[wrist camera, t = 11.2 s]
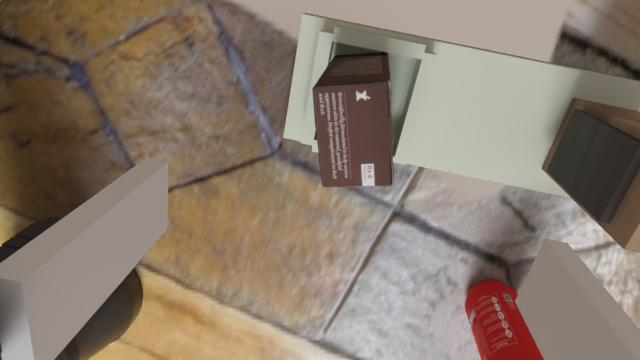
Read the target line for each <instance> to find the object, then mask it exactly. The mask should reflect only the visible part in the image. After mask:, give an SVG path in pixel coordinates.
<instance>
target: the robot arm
mask: <svg viewBox="0 0 640 360" xmlns="http://www.w3.org/2000/svg"><path fill="white" fill-rule="evenodd" d="M168 169H169V162H167V161H162V160H157V159H152V158H146V159H144V160H143V161H142V162H140V163H139V164H137V165H136V166H135V167H133V168H132V169H130V170H129V171H128V172H126V173H125V174H124V175H122V176H121V177H119V178H118V179H117V180H115V181H114V182H112V183H111V184H110V185H108V186H107V187H105V188H104V189H103V190H101V191H100V192H99V193H97V194H96V195H94V196H93V197H92V198H90V199H89V200H87V201H86V202H85V203H83V204H82V205H80V206H79V207H78V208H76V209H75V210H73V211H72V212H71V213H69V214H68V215H67V216H65V217H64V218H62V219H61V218H56V217H50V218H48V219H45V220H42V221H39V222H37V223H34V224H31V225H30V226H28V227H27V228H25V229H24V230H22V231H21V232H20V233H18V234H17V235H16V236H15V238H14V237H12V238H11V239H9V240H8V241H6V242H5V243H3V244H2V246H1V247H0V360H88V359H89V358H91V357H92V356H94V355H95V354H97V353H98V352H99V351H101V350H102V349H103V348H105V347H106V346H107V345H109V344H110V343H112V342H114V341H115V340H117V339H118V338H120V337H121V336H122V335H123V334H124V333H125V332H126V331H127V329H128V328H129V327H130V325H131V324H132V323H133V321H134V320H135V318H136V317H137V315H138V314H139V311H140V309H141V305H142V290H141V285H140V282H139V279H138V277H137V275H136V273H135V271H134V269H133V268H134V267H135V266H136V265H137V264H138V262H139V261H140V260H141V259H142V258H143V257H144V255H145V254H146V253H147V252H148V251H149V250H150V249H151V247H152V246H153V245H154V244H155V243H156V242H157V240H158V239H159V238H160V237H161V236H162V235H163V234H164V232H165V231H166V230H167V212H168ZM515 303H516V305H517V307H518V309H519V311H520V313H521V315H522V317H523V319H524V321H525V323H526V325H527V327H528V329H529V331H530V333H531V335H532V337H533V339H534V341H535V343H536V345H537V347H538V349H539V351H540V353H541V355H542V357H543V359H544V360H640V329H639V328H638V327H637V326H636V325H635V324H634V322H633V321H632V320H631V319H630V318H629V316H628V315H627V314H626V313H625V312H624V310H623V309H622V308H621V307H620V306H619V304H618V303H617V302H616V301H615V300H614V298H613V297H612V296H611V295H610V294H609V292H608V291H607V290H606V289H605V288H604V286H603V285H602V284H601V283H600V282H599V280H598V279H597V278H596V277H595V276H594V274H593V273H592V272H591V271H590V270H589V268H588V267H587V266H586V265H585V264H584V262H583V261H582V260H581V259H580V258H579V256H578V255H577V254H576V253H575V252H574V250H573V249H572V248H571V247H570V246H569V244H568V243H564V242H559V241H554V240H549V239H545V240H544V242H543V244H542V246H541V248H540V250H539V252H538V254H537V256H536V258H535V261H534V263H533V265H532V267H531V269H530V271H529V273H528V275H527V277H526V279H525V281H524V284H523V286H522V288H521V290H520V292H519V294H518V296H517V298H516V300H515Z"/></svg>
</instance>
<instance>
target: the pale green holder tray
mask: <svg viewBox="0 0 640 360" xmlns="http://www.w3.org/2000/svg"><path fill="white" fill-rule="evenodd" d="M371 52H387V53H388V60H389V70H390V80H391V114H392V117H391V118H392V128H393V147H392V149H393V163H398V164H402V165H406V164H411V165H416V166H420V167H425V168H430V169H435V170H440V171H444V172H449V173H454V174H458V175H463V176H468V177H473V178H477V179H482V180H487V181H492V182H497V183H501V184H506V185H511V186H515V187H520V188H525V189H530V190H534V191H539V192H544V193H548V194H553V195H558V196H563V197H567V198H571V197H570V196H569V195H568V194H567V193H566V192H565V191H564V190H563V189H562V188H561V187H560V186H559V185H558V184H557V183H556V182H555V181H554V180H553V179H551V178H550V177H549V176H548V175H547V174H546V173H545V172H544V171H543V170H542V169H541V168H542V166H543V164H544V161H545V159H546V157H547V155H548V152H549V150H550V148H551V146H552V143H553V141H554V139H555V137H556V135H557V132H558V130H559V128H560V126H561V123H562V121H563V119H564V117H565V114H566V112H567V110H568V108H569V105H570V103H571V101H572V99H573V98H578V99H582V100H587V101H592V102H597V103H602V104H607V105H612V106H617V107H622V108H626V109H631V110H636V111H640V81H638V80H633V79H628V78H623V77H618V76H613V75H608V74H603V73H598V72H593V71H588V70H583V69H578V68H574V67H569V66H564V65H559V64H554V63H549V62H544V61H539V60H534V59H529V58H524V57H519V56H514V55H509V54H505V53H500V52H494V51H490V50H485V49H480V48H475V47H470V46H465V45H460V44H455V43H451V42H446V41H441V40H435V39H430V38H426V37H421V36H416V35H411V34H406V33H401V32H396V31H391V30H386V29H381V28H376V27H372V26H366V25H362V24H357V23H352V22H347V21H342V20H337V19H332V18H327V17H323V16H317V15H313V14H308V13H304V14H302V20H301V26H300V33H299V39H298V46H297V52H296V59H295V65H294V72H293V78H292V85H291V91H290V98H289V104H288V111H287V117H286V124H285V131H284V137H283V138H288V139H292V140H297V141H301V142H300V143H303V144H308V145H312V146H313V147H312V152H317V153H318V143H317V135H316V127H315V118H314V104H313V92H312V88H313V87H314V86H315V84H316V83H317V81H318V80H319V78H320V77H321V75H322V74H323V72H324V71H325V69H326V68H327V66H328V65H329V63H330V62H331V60H332V59H333V58H334V56H335V55H349V54H360V53H371Z"/></svg>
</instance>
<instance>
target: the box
mask: <svg viewBox="0 0 640 360" xmlns="http://www.w3.org/2000/svg"><path fill="white" fill-rule="evenodd" d="M312 92H313V104H314V118H315V127H316V135H317V143H318V154H319V163H320V171H321V178H322V186H323V187H353V186H392V185H393V183H394V172H393V149H392V147H393V128H392V118H391V117H392V114H391V80H390V70H389V60H388V53H387V52H371V53H360V54H349V55H335V56H334V58H333V59H332V60H331V62H330V63H329V65H328V66H327V68H326V69H325V71H324V72H323V74H322V75H321V77H320V78H319V80H318V81H317V83H316V84H315V86H314V87H313V88H312Z"/></svg>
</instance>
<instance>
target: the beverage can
mask: <svg viewBox="0 0 640 360" xmlns="http://www.w3.org/2000/svg"><path fill="white" fill-rule="evenodd" d="M517 296H518V295H517V293H516V292H515V291H514V290H513V289H512V288H510V287H508V286H507V285H506V284H505V283H503V282H501V281H498V280H483V281H480V282H478V283H476V284H475V285H473V286H472V287H471V288H470V289H469V291H468V293H467V299H466V301H465V310H466V313H467V316H468V319H469V322H470V325H471V329H472V332H473V335H474V338H475V341H476V344H477V347H478V351H479V354H480V357H481V360H544V359H543V357H542V355H541V353H540V351H539V349H538V347H537V345H536V343H535V341H534V339H533V337H532V335H531V333H530V331H529V329H528V327H527V325H526V323H525V321H524V319H523V317H522V315H521V313H520V311H519V309H518V307H517V305H516V303H515V300H516V298H517Z"/></svg>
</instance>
